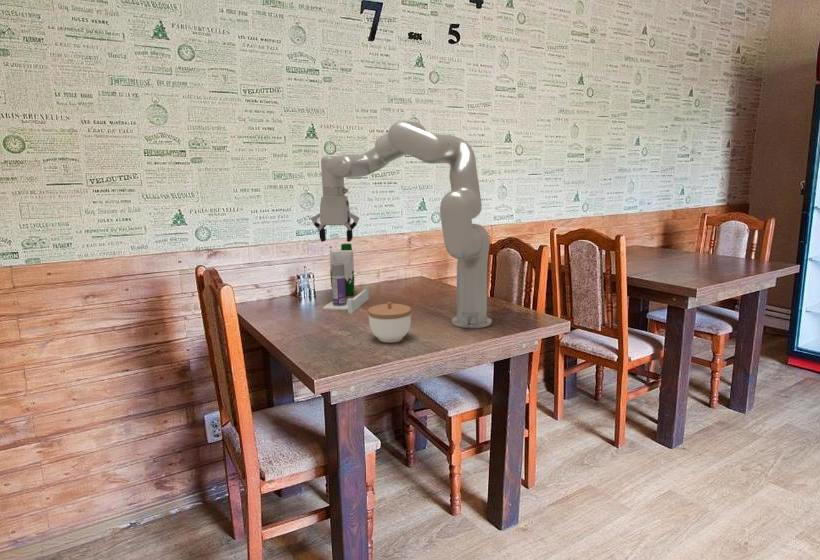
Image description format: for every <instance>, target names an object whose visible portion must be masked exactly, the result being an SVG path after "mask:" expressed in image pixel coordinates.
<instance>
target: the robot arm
mask: <svg viewBox="0 0 820 560" xmlns="http://www.w3.org/2000/svg"><path fill="white" fill-rule="evenodd" d="M406 155H408V156H411V157H413V158H415V159H417V160H419V161H422V162H423V163H424V162H425V163H427V164H433V165H434V164H437V165H438V164H448V165H449V167H450V168H449V183H450V191H449V192H447V193H446V194H445V195H443V197H442V199H441V201H440V207H439V214H440V215H439V216H440V221H441V230H442V237H443V242H444V247H445V249H446V252H447V253H448V254H449V255H450V256H451V257H452V258H454V259H456V260H457V261H456V316H454V317H453V318H452V319H451V324H452V325H454V326H455V327H458V328H462V329H482V328H486V327H490V325H492V322H493V321H492V320H493V319H492V318H490V317H488V314H487V313H488V260H489V253H490V246H491V245H490V241H491V240H490V234H489V232H488V230H487V229H486V228H485V226H482V225H481V224H478V223H473V220H474V218H477V217H478V216H479V215H480V214H481V211H482V207H483V206H482V205H483V204H482V197H481V189H480V184H479V178H478V177H479V176H478V170H477V161H476V155H475V152H474V149H473V148H472V146H471V145H470V143H469V142H468V141H467V140H464V139H463V138H461V137H458V136H455V135H450V134H435V133H432V132H429V131H427V129H426V128H425V127H424V125H423V124H421V123H420V122H417V121H409V120H398V121H395V122H394V123H392V125H391V126H390V127H389V128H388V131H387V133H385V134H383V135H381V136H379V137H377V138H376V139H375V143H374V147H373V148H372V149H369V150H368V151H365V152H363V153H361V154H342V155H329V156H327V155H326V156H323V157H321V160H320V166H321V168H320V169H321V185H322V196H321V197H320V203H319V204H320V205H319V213H318V214H316V215H314V216H312V217H311V220H310V221H312V223H313V225H314V227H315V228H316V229H317V230H318V233H319V239H320V242H326V240H327V235H326V229H325V227H327V226H345V228H346V242H348V243H350V242H352V240H353V230H354V229H355V227H356V226H357V225H358V222H359V221H360V217H359V216H357V215H356V214H354V213H351V208H350V204H349V199H348V196H347V195H346V194H347V193H349V188H345V179H344V178H346V179H347V178H348V179H349V178H360V177H361V178H363V177H367V176H368V175H371V174H373V173H375V172H378V171H379V170H381V169H384V167H386V166H387V165H389V163H390V162H392V161H395V160H397V159H399V158H402V157H404V156H406ZM318 219H319V221H320V222H318ZM352 219H353V222H352V223H351V221H352Z"/></svg>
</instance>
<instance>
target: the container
mask: <svg viewBox="0 0 820 560" xmlns="http://www.w3.org/2000/svg"><path fill="white" fill-rule="evenodd" d="M331 267H332V286H331V290H332V292H331V293H332V302H333V306H345V305H346V302H347V296H346V290H345V272H344V264H343V263H334V264H331Z"/></svg>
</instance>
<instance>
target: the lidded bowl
mask: <svg viewBox="0 0 820 560" xmlns="http://www.w3.org/2000/svg"><path fill="white" fill-rule="evenodd" d="M367 315H368V324H369V328H370V330H371V333H372V334H373V335H374V337H376V339H378V341H379V342H381V343H387V344H388V343H397V342H400V341H402V340H403V338H405V337H406V335H407V334H408V332H409V330H410V327H411V323H412V308H411V306H409V305H406V304H402V303H392V302H391V301H388V302H386V303H383V304H376V305H373V306H370V307H369V308H368V309H367Z"/></svg>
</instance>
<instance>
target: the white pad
mask: <svg viewBox="0 0 820 560" xmlns="http://www.w3.org/2000/svg"><path fill="white" fill-rule="evenodd" d="M322 310H332V311H335V310H336V311H348V304H347V301H346V305H345V306H333V300H332V301H330V302H329V303H327V304H326V305H324V306H323V307H322Z"/></svg>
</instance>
